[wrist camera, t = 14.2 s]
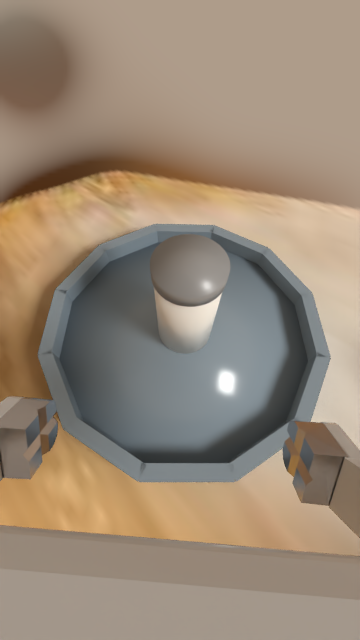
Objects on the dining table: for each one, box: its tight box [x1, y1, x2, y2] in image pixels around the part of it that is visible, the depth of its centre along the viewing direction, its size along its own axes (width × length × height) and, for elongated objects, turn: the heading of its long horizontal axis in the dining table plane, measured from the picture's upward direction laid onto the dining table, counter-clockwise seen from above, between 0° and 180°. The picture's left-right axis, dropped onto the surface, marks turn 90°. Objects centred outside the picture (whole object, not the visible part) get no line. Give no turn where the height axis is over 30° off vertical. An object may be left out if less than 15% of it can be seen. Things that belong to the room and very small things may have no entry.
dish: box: [38, 224, 331, 482], centre depth 22 cm, size 22×22×2 cm
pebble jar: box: [150, 234, 230, 354], centre depth 19 cm, size 5×5×8 cm
